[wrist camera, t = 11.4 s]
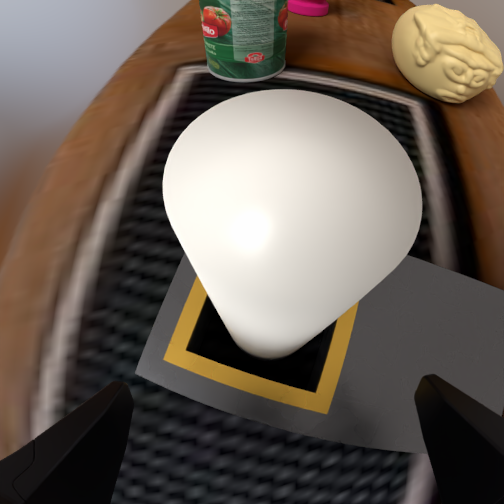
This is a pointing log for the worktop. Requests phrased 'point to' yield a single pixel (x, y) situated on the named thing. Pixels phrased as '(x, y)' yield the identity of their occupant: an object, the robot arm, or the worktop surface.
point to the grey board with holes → (348, 357)
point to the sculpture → (445, 53)
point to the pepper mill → (308, 7)
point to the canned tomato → (244, 38)
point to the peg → (289, 212)
